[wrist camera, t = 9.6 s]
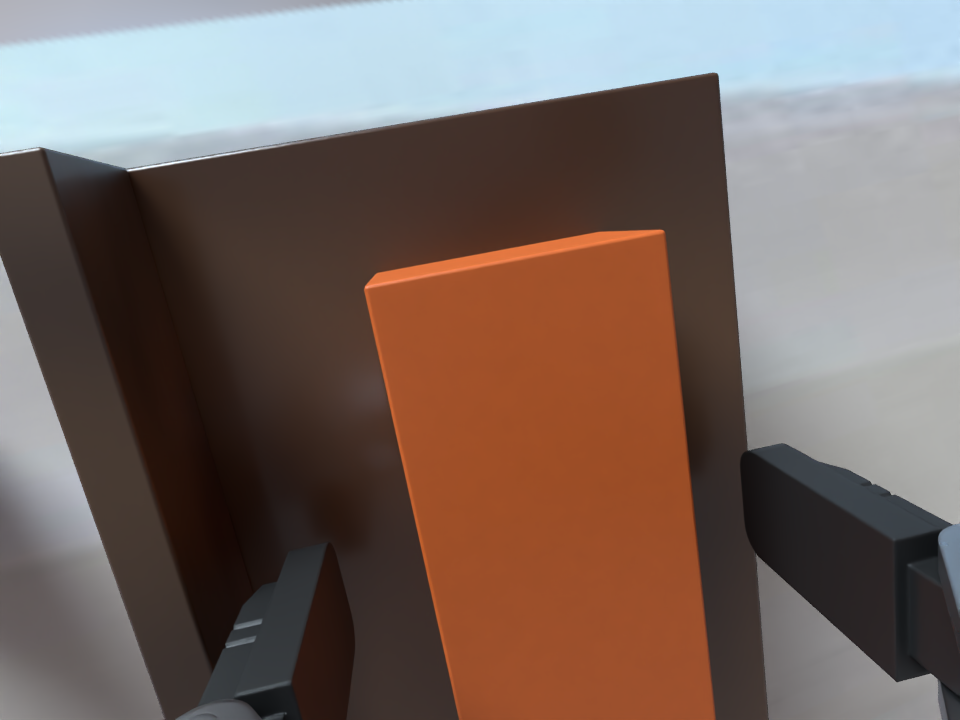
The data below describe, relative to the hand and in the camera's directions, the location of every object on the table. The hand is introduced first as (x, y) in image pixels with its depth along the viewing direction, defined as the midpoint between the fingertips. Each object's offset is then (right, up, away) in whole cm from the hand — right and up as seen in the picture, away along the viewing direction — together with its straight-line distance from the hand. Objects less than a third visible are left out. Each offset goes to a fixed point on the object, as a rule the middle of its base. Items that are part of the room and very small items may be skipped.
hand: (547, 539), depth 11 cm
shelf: (-2, +2, +11) cm, 11 cm away
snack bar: (0, 0, +1) cm, 1 cm away
